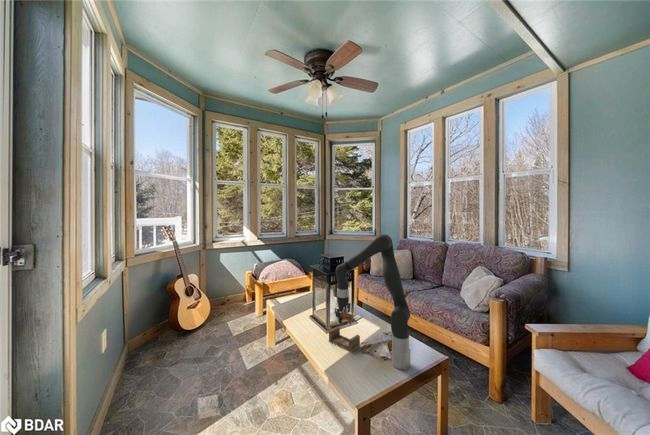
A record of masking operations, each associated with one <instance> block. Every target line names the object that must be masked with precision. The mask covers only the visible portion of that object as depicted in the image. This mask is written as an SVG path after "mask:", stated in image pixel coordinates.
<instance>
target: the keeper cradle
mask: <svg viewBox="0 0 650 435" xmlns="http://www.w3.org/2000/svg"><path fill="white" fill-rule="evenodd" d="M328 342H329V343H332V345H333V344H334V345H336V346H337V347H340V348H342V349H343V350H345V351H348V352H350V353H353V352H354V351H356V350H357V349H359V348H360V346H361V335H359V334H356V335H354V336H353V337H351V338H348V337H345V336H344V335H342V334H341V328H340V326H335V327H333V328H331V329H330V330H329V331H328Z"/></svg>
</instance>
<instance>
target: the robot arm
mask: <svg viewBox="0 0 650 435" xmlns="http://www.w3.org/2000/svg"><path fill="white" fill-rule="evenodd" d="M393 244H394V242H393V239H392V237H391V236H390V235H388V234H380V235H378V236H376V237H375V238H374V239H373V241H371V242H370V243H369V244H368V245H367V246H365V247H364V248H363V249H361V250H360V251H358V252H357V253H355V254H354V255H352V256H351V257H349V258H348V259H347V260H346V261H345V262H343V263H341V264H339V265H337V266H336V268H335V278H336V281H337V282H336V283H337V284H336V285H337V286H336V287H337V289H336V290H337V291H336V303H337V308H336V307H335V308H334V312H335V313H334V314H335V317H336V318H337V317H338V318H337V319H338V321H337V323H338V322H339V324H342V323H343V320H342V314H343V313H346V314H350V311H351V305H352V304H351V302H349V300H350V295H349V294H350V290H349V279H348V278H347V274H349V273H351V271H353V270H354V269H356V268H358V267H360V266H361V265H362V264H364V263H366V261H368V260H369V259H370V258H372V257H373V256H376V255H377V254H381V258H382V275H383V279H384V284H385V288H386V289H387V290H388V292H389V294H390V295H391V297H392V303H393V308H394V309H393V310H392V311H391V314H390V329H391V335H392V337H391V344H392V345H391V349H392V350H391V357H392V358H391V364H392V366H393V368H395V369H399V370H404V371H407V370H408V369H409V368H410V366H411V348H410V331H409V328H408V325H409V324H408V322H409V319H410V317H411V312H410V308H409V306H408V302H407V300H406V296H405V292H404V287H403V283H402V278H401V275H400V271H399V267H398V264H397V261H396V257H395V253H394V245H393ZM340 314H341V315H340Z"/></svg>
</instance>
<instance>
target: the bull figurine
mask: <svg viewBox="0 0 650 435" xmlns="http://www.w3.org/2000/svg"><path fill="white" fill-rule="evenodd" d="M333 314H335V311H334V312H333ZM340 315H341V314H340ZM336 318H337V319H338V317H336ZM353 319H354V315H353V314H351V313H348V314H346V313H344V312H343V314H342V321H344V322H347V321H348V322H347V323H346V325H348V327H351V326H352V322H353ZM337 325H340V323H339V322H338V321H337Z"/></svg>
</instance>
